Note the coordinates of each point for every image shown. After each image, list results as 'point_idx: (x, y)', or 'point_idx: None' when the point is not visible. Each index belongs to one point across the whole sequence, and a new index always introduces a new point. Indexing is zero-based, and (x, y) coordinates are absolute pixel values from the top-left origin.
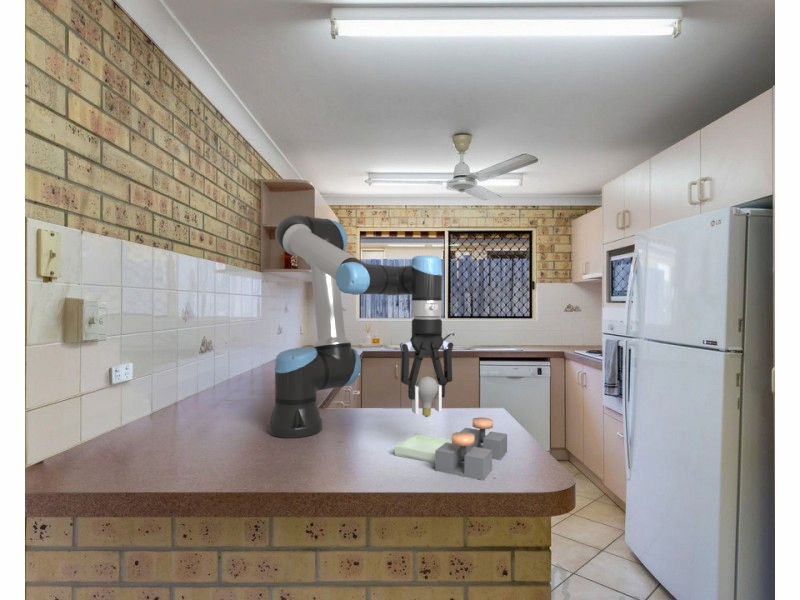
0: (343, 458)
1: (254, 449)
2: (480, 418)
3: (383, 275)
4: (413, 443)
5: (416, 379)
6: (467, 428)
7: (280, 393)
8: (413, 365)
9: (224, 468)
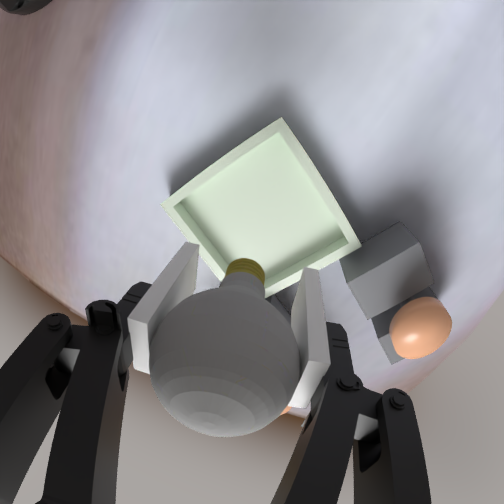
0: (66, 165)
1: None
2: (436, 318)
3: None
4: (255, 148)
5: (122, 402)
6: (418, 251)
7: None
8: (64, 451)
9: None
